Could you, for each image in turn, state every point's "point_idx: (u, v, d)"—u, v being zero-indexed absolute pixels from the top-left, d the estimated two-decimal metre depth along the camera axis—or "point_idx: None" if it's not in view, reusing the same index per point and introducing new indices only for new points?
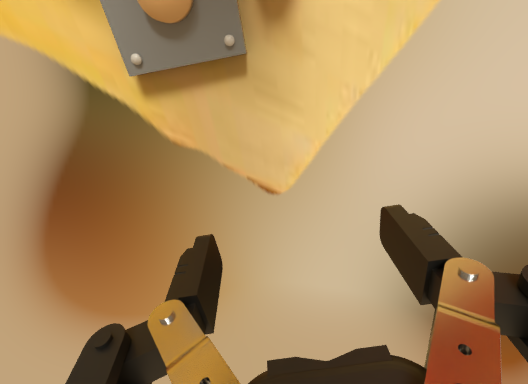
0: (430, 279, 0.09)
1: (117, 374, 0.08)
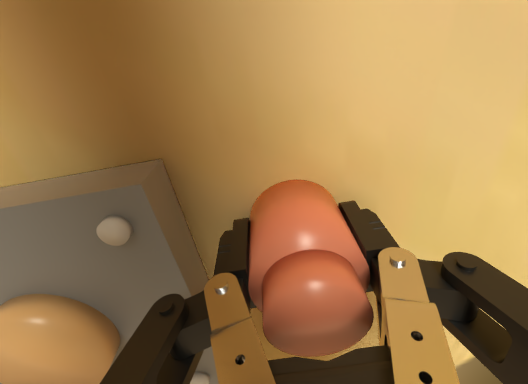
0: (370, 267, 0.10)
1: (172, 342, 0.08)
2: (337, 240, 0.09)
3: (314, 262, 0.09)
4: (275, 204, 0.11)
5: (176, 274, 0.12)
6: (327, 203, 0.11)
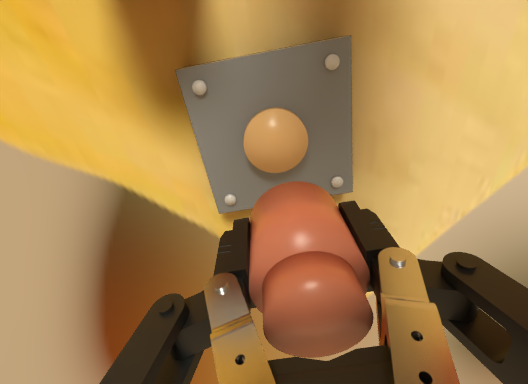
0: (371, 267, 0.10)
1: (172, 343, 0.08)
2: (337, 241, 0.09)
3: (314, 264, 0.09)
4: (275, 205, 0.11)
5: (349, 95, 0.24)
6: (327, 205, 0.11)
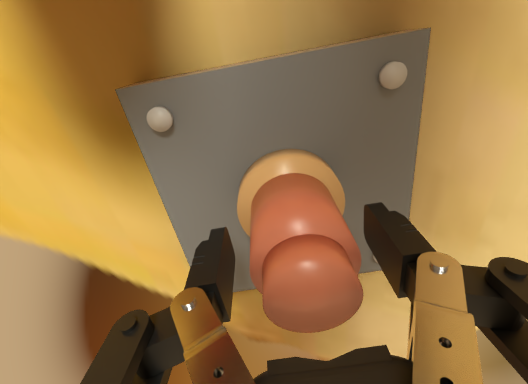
0: (406, 273, 0.10)
1: (139, 359, 0.08)
2: (330, 225, 0.10)
3: (309, 245, 0.10)
4: (274, 194, 0.12)
5: (414, 129, 0.14)
6: (322, 194, 0.12)
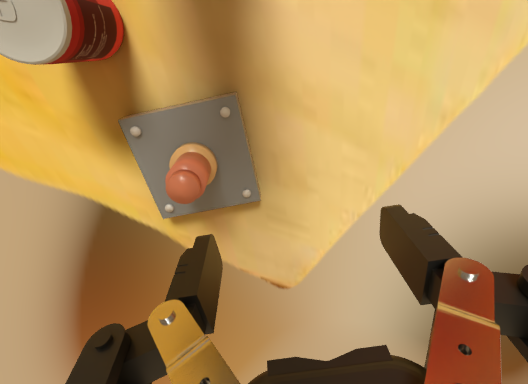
0: (430, 279, 0.09)
1: (117, 374, 0.08)
2: (189, 165, 0.30)
3: (180, 171, 0.29)
4: (178, 159, 0.32)
5: (242, 132, 0.34)
6: (196, 158, 0.32)
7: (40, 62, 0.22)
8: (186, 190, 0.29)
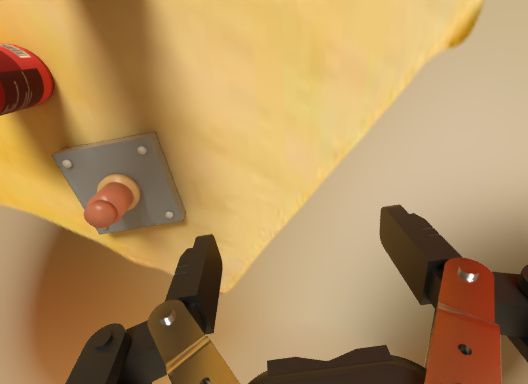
0: (430, 279, 0.09)
1: (117, 374, 0.08)
2: (105, 197, 0.36)
3: (97, 202, 0.36)
4: (101, 189, 0.38)
5: (159, 166, 0.40)
6: (116, 189, 0.38)
7: None
8: (101, 217, 0.36)
